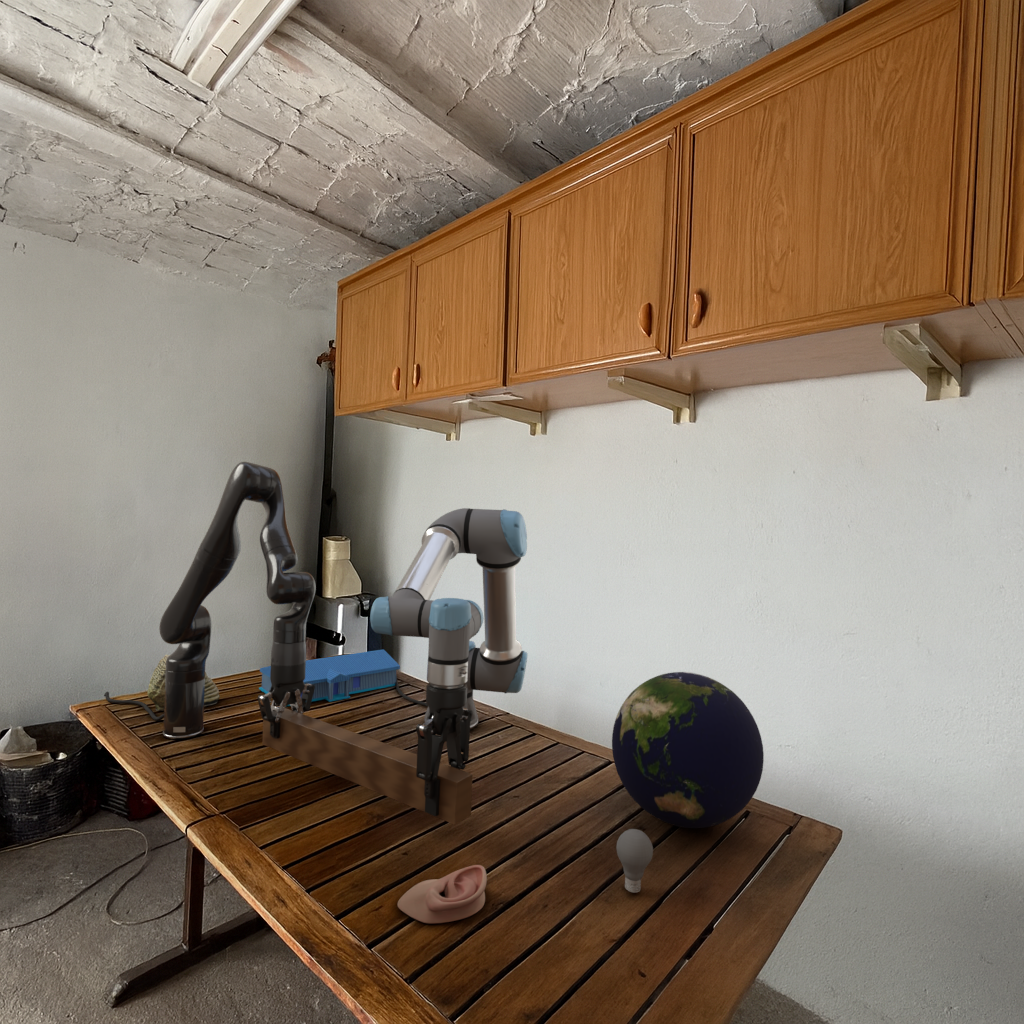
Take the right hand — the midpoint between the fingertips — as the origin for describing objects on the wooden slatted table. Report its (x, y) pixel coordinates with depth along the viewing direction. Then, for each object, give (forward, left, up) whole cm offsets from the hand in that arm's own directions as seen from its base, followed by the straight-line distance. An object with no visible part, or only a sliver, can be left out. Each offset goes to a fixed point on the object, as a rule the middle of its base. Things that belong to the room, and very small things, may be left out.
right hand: (441, 807), depth 118 cm
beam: (-16, -17, -1) cm, 24 cm away
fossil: (-78, -73, -7) cm, 107 cm away
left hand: (-32, -35, +2) cm, 47 cm away
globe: (-7, +50, -7) cm, 51 cm away
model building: (-95, -34, -7) cm, 101 cm away
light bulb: (+16, +32, -7) cm, 36 cm away
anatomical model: (+17, 0, -7) cm, 18 cm away
